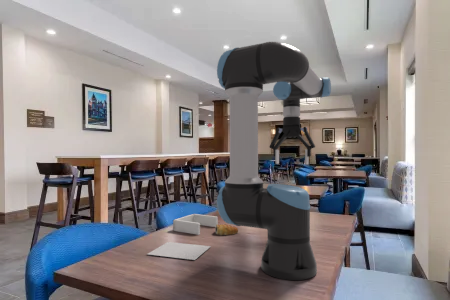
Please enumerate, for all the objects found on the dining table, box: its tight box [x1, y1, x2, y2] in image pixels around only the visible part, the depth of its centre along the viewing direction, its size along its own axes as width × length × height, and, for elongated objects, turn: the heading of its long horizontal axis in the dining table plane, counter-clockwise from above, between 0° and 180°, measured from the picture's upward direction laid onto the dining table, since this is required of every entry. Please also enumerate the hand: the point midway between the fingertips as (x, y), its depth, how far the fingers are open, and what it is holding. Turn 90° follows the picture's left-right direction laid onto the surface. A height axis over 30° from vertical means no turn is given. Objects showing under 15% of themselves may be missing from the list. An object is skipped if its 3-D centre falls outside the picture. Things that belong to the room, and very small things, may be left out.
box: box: [172, 213, 219, 236], centre depth 127 cm, size 15×13×4 cm
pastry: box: [214, 223, 239, 236], centre depth 120 cm, size 9×7×4 cm
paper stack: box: [147, 241, 212, 261], centre depth 101 cm, size 23×25×1 cm
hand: (291, 164), depth 132 cm, fingers open, 13 cm apart
